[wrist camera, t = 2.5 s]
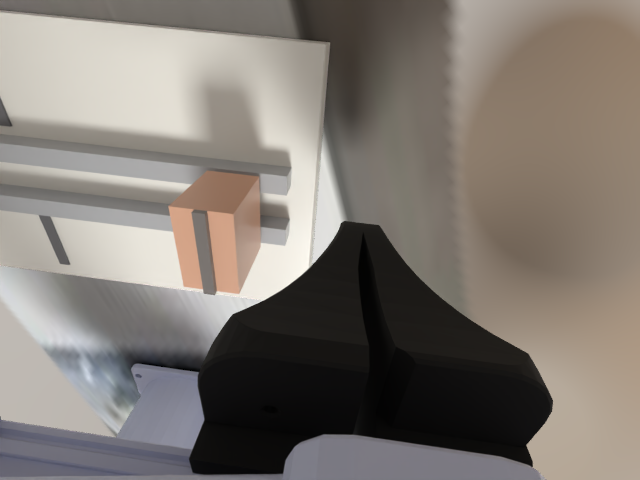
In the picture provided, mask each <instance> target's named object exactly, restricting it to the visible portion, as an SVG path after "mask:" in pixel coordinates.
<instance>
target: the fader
mask: <svg viewBox="0 0 640 480" xmlns="http://www.w3.org/2000/svg"><path fill="white" fill-rule="evenodd" d="M168 207H169V213H170V218H171V223H172V228H173V233H174V239H175V244H176V249H177V254H178V259H179V264H180V270H181V275H182V280H183V285H184V287H189V288H197V289H203V293H204V294H211V295H215V294H216V292H217V291H220V292H227V293H235V294H240V291H241V289H242V287H243V285H244V283H245V280H246V278H247V276H248V274H249V272H250V269H251V267H252V265H253V263H254V261H255V259H256V256H257V254H258V252H259V250H260V248H261V231H260V186H259V176H251V175H242V174H233V173H225V172H216V171H208V170H207V171H206V172H205V173H204V174H203V175H202V176H201V177H200V178H198V179H197V180H196V181H195V182H194V183H193V184H192V185H191V186H190V187H189V188H188V189H186V190H185V191H184V192H183V193H182V194H181V195H180V196H179V197H178V198H177V199H176V200H175V201H173V202H172V203H171V204H170V205H169V206H168Z"/></svg>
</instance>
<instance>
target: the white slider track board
mask: <svg viewBox="0 0 640 480" xmlns="http://www.w3.org/2000/svg"><path fill="white" fill-rule="evenodd" d="M329 52H330V42H321V41H311V40H301V39H290V38H280V37H270V36H260V35H249V34H239V33H229V32H219V31H209V30H198V29H188V28H178V27H168V26H158V25H147V24H137V23H127V22H117V21H107V20H96V19H86V18H76V17H66V16H55V15H45V14H35V13H25V12H15V11H4V10H0V266H7V267H14V268H22V269H29V270H37V271H45V272H52V273H60V274H67V275H75V276H82V277H90V278H97V279H105V280H112V281H120V282H128V283H135V284H143V285H150V286H158V287H165V288H173V289H180V290H188V291H196V292H203V289H197V288H189V287H184V285H183V280H182V275H181V270H180V264H179V259H178V254H177V249H176V244H175V239H174V233H173V228H172V223H171V218H170V213H169V207H168V206H169V205H170V204H171V203H172V202H173V201H175V200H176V199H177V198H178V197H179V196H180V195H181V194H182V193H183V192H184V191H185V190H186V189H188V188H189V187H190V186H191V185H192V184H193V183H194V182H195V181H196V180H197V179H198V178H200V177H201V176H202V175H203V174H204V173H205V172H206V171H207V170H208V171H216V172H225V173H233V174H242V175H251V176H259V186H260V231H261V248H260V250H259V252H258V254H257V256H256V259H255V261H254V263H253V265H252V267H251V269H250V272H249V274H248V276H247V278H246V280H245V283H244V285H243V287H242V289H241V291H240V294H235V293H227V292H220V291H217V292H216V294H218V295H226V296H233V297H241V298H248V299H256V300H263V301H264V300H266V299H267V298H269V297H271V296H272V295H274V294H276V293H277V292H279V291H281V290H282V289H284V288H285V287H287V286H288V285H289V284H291V283H292V282H293V281H295V280H296V279H297V278H298V277H300V276H301V275H302V274H303V273H304V272H305V271H307V270H308V269H309V268H310V267H311V266H312V256H313V244H314V232H315V220H316V208H317V196H318V184H319V172H320V160H321V148H322V136H323V124H324V112H325V100H326V88H327V76H328V64H329Z"/></svg>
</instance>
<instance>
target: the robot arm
mask: <svg viewBox="0 0 640 480" xmlns="http://www.w3.org/2000/svg"><path fill="white" fill-rule="evenodd" d="M131 372H132V374H133V377H134V379H135V382H136V385H137V387H138V390H139V393H140V395H141V396H140V398H139V400H138V401H137V403H136V405H135V406H134V408H133V410H132V411H131V413H130V415H129V416H128V418H127V420H126V421H125V423H124V425H123V426H122V428H121V430H120V431H119V433H118V435H117V436H116V437H109V436H103V435H96V434H90V433H83V432H77V431H70V430H64V429H57V428H51V427H44V426H37V425H30V424H25V423H18V422H12V421H5V420H1V417H0V480H546V479H545V478H544V477H543V476H542V475H541V474H540V473H539V472H538V471H537V470H536V469H534V468H532V467H533V462H532V459H531V456H530V454H529V451H528V449H527V446H526V444H527V443H528V442H529V441H530V440H531V439H532V438H533V436H534V435H535V434H536V433H537V432H538V431H539V429H540V428H541V427H542V426H543V425H544V424H545V422H546V421H547V419H548V417H549V415H550V414H551V412H552V405H553V400H552V398H551V396H550V393H549V391H548V389H547V387H546V385H545V383H544V381H543V379H542V377H541V375H540V373H539V371H538V369H537V368H536V366H535V364H534V362H533V361H532V359H531V358H530V356H529V354H528V353H526V352H524V351H522V350H520V349H519V348H517V347H515V346H513V345H512V344H510V343H508V342H506V341H504V340H502V339H501V338H499V337H497V336H495V335H493V334H492V333H490V332H488V331H487V330H485V329H484V328H482V327H481V326H479V325H478V324H476V323H474V322H473V321H471V320H470V319H468V318H467V317H465V316H464V315H463V314H461V313H460V312H458V311H457V310H456V309H454V308H453V307H452V306H451V305H449V304H448V303H447V302H445V301H444V300H443V299H442V298H440V297H439V296H438V295H437V294H436V293H435V292H433V291H432V290H431V289H430V288H429V287H428V286H427V285H426V284H425V283H424V282H423V281H422V280H421V279H420V278H419V277H418V276H417V275H416V274H415V273H414V272H413V271H412V270H411V268H410V267H409V266H408V265H407V264H406V263H405V262H404V260H403V259H402V258H401V256H400V255H399V254H398V252H397V251H396V250H395V248H394V247H393V245H392V244H391V242H390V241H389V239H388V238H387V236H386V235H385V233H384V232H383V230H382V229H381V227H380V226H379V225H372V224H364V223H356V222H348V221H344V222H342V223H341V226H340V228H339V230H338V232H337V234H336V236H335V237H334V239H333V240H332V242H331V243H330V245H329V246H328V248H327V249H326V250H325V251H324V252H323V254H322V255H321V256H320V257H319V258H318V259H317V261H316V262H315V263H314V264H313V265H312V266H311V267H310V268H309V269H308V270H307V271H305V272H304V273H303V274H302V275H301V276H300V277H298V278H297V279H296V280H295V281H293V282H292V283H291V284H289V285H288V286H287V287H285V288H284V289H282V290H281V291H279V292H277V293H276V294H274V295H272V296H271V297H269V298H267V299H266V300H264V301H262V302H260V303H258V304H256V305H253V306H251V307H249V308H247V309H244V310H242V311H240V312H237V313H235V314H233V315H232V316H231V317H230V318H229V320H228V321H227V323H226V324H225V325H224V327H223V328H222V330H221V331H220V333H219V334H218V336H217V337H216V339H215V340H214V342H213V344H212V346H211V348H210V350H209V352H208V354H207V356H206V358H205V361H204V363H203V365H202V367H201V369H200V372H193V371H186V370H179V369H173V368H166V367H159V366H152V365H145V364H134V365H133V367H132V368H131Z"/></svg>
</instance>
